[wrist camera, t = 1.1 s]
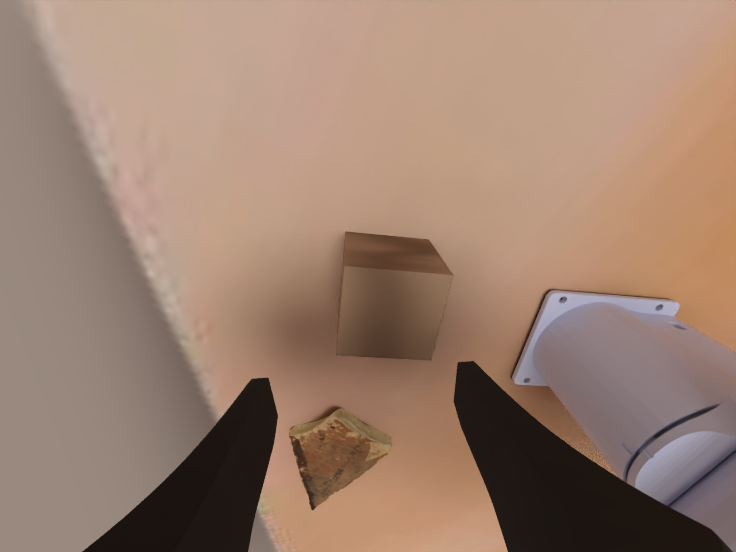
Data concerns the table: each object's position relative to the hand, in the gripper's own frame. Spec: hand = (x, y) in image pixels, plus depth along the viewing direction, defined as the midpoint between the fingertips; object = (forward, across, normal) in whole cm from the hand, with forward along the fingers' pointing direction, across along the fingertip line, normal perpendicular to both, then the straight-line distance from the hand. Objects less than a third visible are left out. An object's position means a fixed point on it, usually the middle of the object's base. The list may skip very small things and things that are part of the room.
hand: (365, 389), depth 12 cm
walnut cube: (+9, -2, -1) cm, 9 cm away
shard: (+9, +2, +16) cm, 19 cm away
